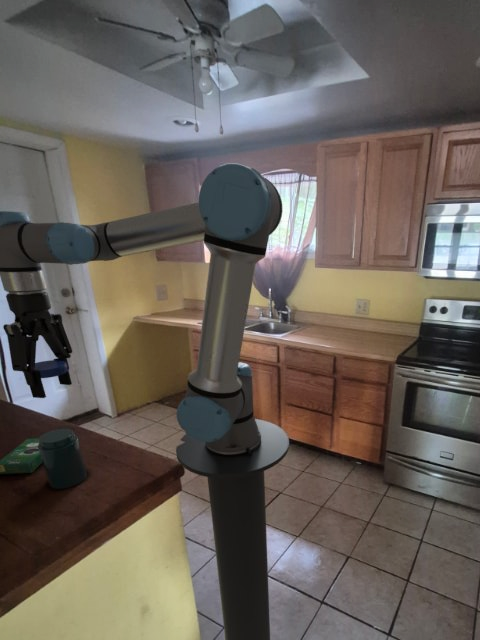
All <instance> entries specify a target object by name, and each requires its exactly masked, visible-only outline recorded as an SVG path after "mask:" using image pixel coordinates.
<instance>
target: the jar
mask: <svg viewBox="0 0 480 640" xmlns="http://www.w3.org/2000/svg"><path fill="white" fill-rule="evenodd" d="M38 438H39V444H38V449H39V452H40V456H41V459H42V465H43V469H44V471H45V474H46V477H47V481H48V484H49V486H50V488H52V489H56V490H63V489H69V488H71V487H75V486H78V485H79V484H81V483H82V482H83V481H84V480H85V479H86V478H87V476H88V472H87V468H86V464H85V461H84V457H83V453H82V450H81V446H80V441H79V438H78V436H77V435H76V434H75V432H74V431H73V430H72V429H69V428H58V429H53V430H50V431H47V432H45V433H43V434H41V435H40V437H38Z"/></svg>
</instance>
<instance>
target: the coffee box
mask: <svg viewBox="0 0 480 640" xmlns="http://www.w3.org/2000/svg"><path fill="white" fill-rule="evenodd" d="M39 438H40V437H38V438H34V437H33V438H26V439H25V440H24V441H22V442H21V443H20V444H19V445H17V447H15V448H14V449H12V450H11V451H10V452H9V453H8V454H6V455H4V457H3V458H2V459H0V475H8V474H9V475H10V474H11V475H13V474H32V473H34V472H35V470H37V469H38V467H39V466H41V465H42V464H43V462H42V459H41V456H40V452H39V449H38V444H39Z"/></svg>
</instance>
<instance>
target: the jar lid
mask: <svg viewBox="0 0 480 640" xmlns="http://www.w3.org/2000/svg"><path fill="white" fill-rule="evenodd" d="M35 370H39V373H40V377H41V379H48V378H54V377H58V376H59V375H62V374H64V373H66V372H67V371H68V367H67V364H66V362H65V361H61V360H53V359H52V360H44V361H39V362H35Z"/></svg>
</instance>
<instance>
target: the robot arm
mask: <svg viewBox="0 0 480 640" xmlns="http://www.w3.org/2000/svg"><path fill="white" fill-rule="evenodd" d="M282 217H283V201H282V197H281V194H280V192H279V191H278V189H277V187H276V186H275V184H274V183H272V181H270V180H269V179H268V178H266V177H264V176H263V175H262V174H261V173H260V172H259V171H257V169H255V168H253V167H250V166H247V165H246V164H244V165H243V164H240V163H233V162H230V163H225V164H224V163H223V164H221V165H219V166H217V167H216V168H214V169H213V170H211V171H210V172H209V173H208V174H207V175H206V177H204V180H203V181H202V185H201V186H200V189H199V194H198V202H192V203H189V204H185V205H180V206H175V207H171V208H166V209H163V210H162V209H161V210H157V211H152V212H148V213H143V214H138V215H134V216H129V217H125V218H120V219H116V220H111V221H108V222H101V223H97V224H78V223H72V222H64V221H63V222H37V223H36V222H35V223H34V222H31V221H30V217H29V215H28V214H27V213H26V212H22V211H8V210H3V211H2V210H0V281H1V284H2V287H3V291H5V292H7V294H6V295H5V298H6V301H7V305H8V308H9V311H10V312H11V313H13V314H14V322H12V323H9V324H7V323H5V324H3V326H2V328H3V330H4V333H5V334H6V337H7V343H8V349H9V354H10V355H9V356H10V361H11V367H12V370H13V372H22V373H23V376H24V379H25V382H26V383H25V384H26V386H29V389H30V392H31V395H32V398H35V399H45V398H47V394H46V391H45V387H44V384H43V381H42V378H41V377H40V373H39V370H35V363H36V356H37V342H38V341H39V340H40V339H39V338H40V337H42V338H43V340H44V341H45V343H46V344H47V346H48V348H49V349H50V350H51V352H52V353H53V355H54V357H55V358H54V359H52V360H61V361H65V362H66V364H67V367H68V371H67V372H66V373H64V374H62V375H59V376H57V378H58V382H59V385H63V386H72V385H73V382H72V379H71V375H70V366H69V361H68V359H70V358H71V357H72V353H73V348H72V346H71V343H70V340H69V337H68V334H67V332H66V329H65V327H64V324H63V316H62V314H61V313H51V312H50V310H51V309H52V304H51V300H50V296H49V293H48V292H47V291H46V290H47V289H48V288H47V284H46V280H45V275H44V272H43V267H42V264H64V265H65V264H66V265H70V266H71V265H72V266H73V265H82V264H83V265H84V264H87V263H89V262H101V261H104V262H105V261H106V262H109V261H114V260H117V259H119V258H123V257H127V256H133V255H137V254H142V253H147V252H153V251H158V250H163V249H168V248H173V247H178V246H179V247H180V246H184V245H189V244H195V243H200V242H203V244H204V245H205V247H206V248H207V250H208V252H209V254H210V256H209V265H208V273H207V279H206V280H207V281H206V288H205V297H204V305H203V312H202V313H203V314H202V322H201V330H200V337H199V345H198V353H197V360H196V361H197V363H196V368H195V369H193V370H192V371H190V373H189V374H188V377H187V383H186V391H185V392H186V393H185V397H184V398H183V399H182V400H181V401H180V403H179V404H178V406H177V409H176V421H177V424H178V425H179V427H180V429H182V430H183V431H184V432H185V434H188V435H189V436H190V437H192V438H194V439H196V440H199V441H203V442H205V443H206V448H207V450H208V451H209V452H211V453H213V454H215V455H218V456H224V457H235V456H241V455H245V454H249V455H252V452H253V451H254V450H256V449H257V448H258V447H259V446H260V444H261V433H260V431H259V429H258V426H257V423H256V421H255V419H256V418H255V416H254V415H255V414H254V393H253V374H252V368H251V365H250V364H248V363H246V362H240V357H241V352H242V347H243V341H244V333H245V329H246V324H247V323H246V322H247V317H248V311H249V305H250V300H251V294H252V287H253V282H254V276H255V271H256V266H257V264H258V263H259V262H260V261H261V260H263V259H264V258H266V255H267V250H268V249H267V248H268V244H269V238H270V235H272V234H273V233H274V232H275V231H276V230H277V229H278V227H279V225H280V223H281V220H282Z"/></svg>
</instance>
